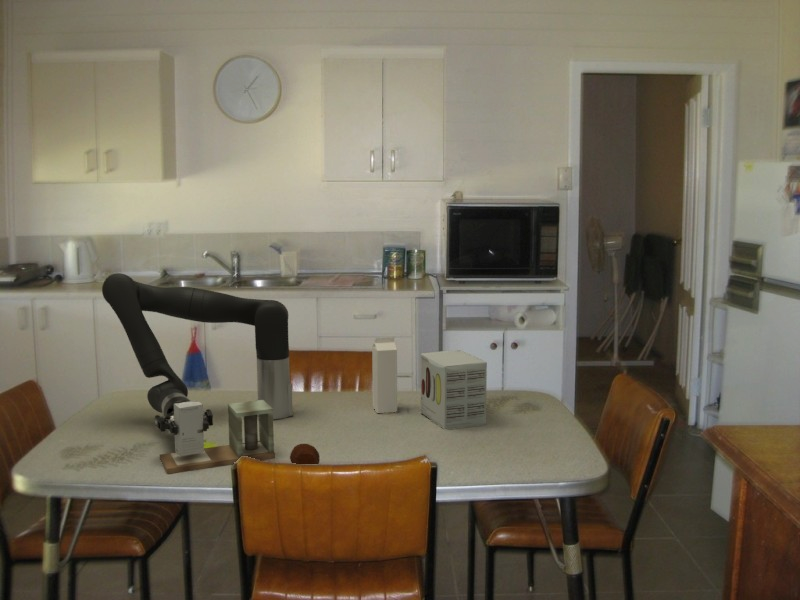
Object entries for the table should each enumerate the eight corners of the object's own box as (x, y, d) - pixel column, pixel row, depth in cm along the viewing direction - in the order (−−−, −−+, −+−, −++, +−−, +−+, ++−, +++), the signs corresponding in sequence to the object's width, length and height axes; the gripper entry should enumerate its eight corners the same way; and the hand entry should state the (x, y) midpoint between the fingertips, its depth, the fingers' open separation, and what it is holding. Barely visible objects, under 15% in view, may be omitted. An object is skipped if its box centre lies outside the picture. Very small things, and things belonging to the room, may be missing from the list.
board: (263, 444, 213) (261, 398, 211) (275, 457, 203) (274, 409, 201) (159, 459, 202) (157, 411, 201) (167, 473, 193) (164, 423, 191)
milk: (397, 412, 242) (397, 338, 238) (377, 414, 240) (377, 340, 237) (391, 406, 247) (391, 334, 244) (372, 408, 246) (372, 335, 242)
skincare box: (180, 457, 196) (178, 408, 194) (174, 451, 200) (172, 403, 198) (205, 452, 200) (203, 404, 198) (199, 447, 203) (197, 399, 201)
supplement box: (419, 413, 241) (419, 353, 238) (460, 408, 246) (460, 349, 243) (443, 430, 225) (444, 365, 222) (487, 425, 230) (488, 361, 227)
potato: (289, 477, 190) (288, 450, 189) (290, 463, 199) (290, 437, 198) (319, 476, 191) (319, 449, 190) (319, 462, 200) (319, 436, 199)
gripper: (148, 399, 208) (159, 417, 193) (206, 393, 214) (220, 410, 199) (150, 427, 209) (160, 448, 194) (206, 420, 215) (221, 440, 200)
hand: (190, 429), depth 197 cm, fingers closed on skincare box, 6 cm apart
